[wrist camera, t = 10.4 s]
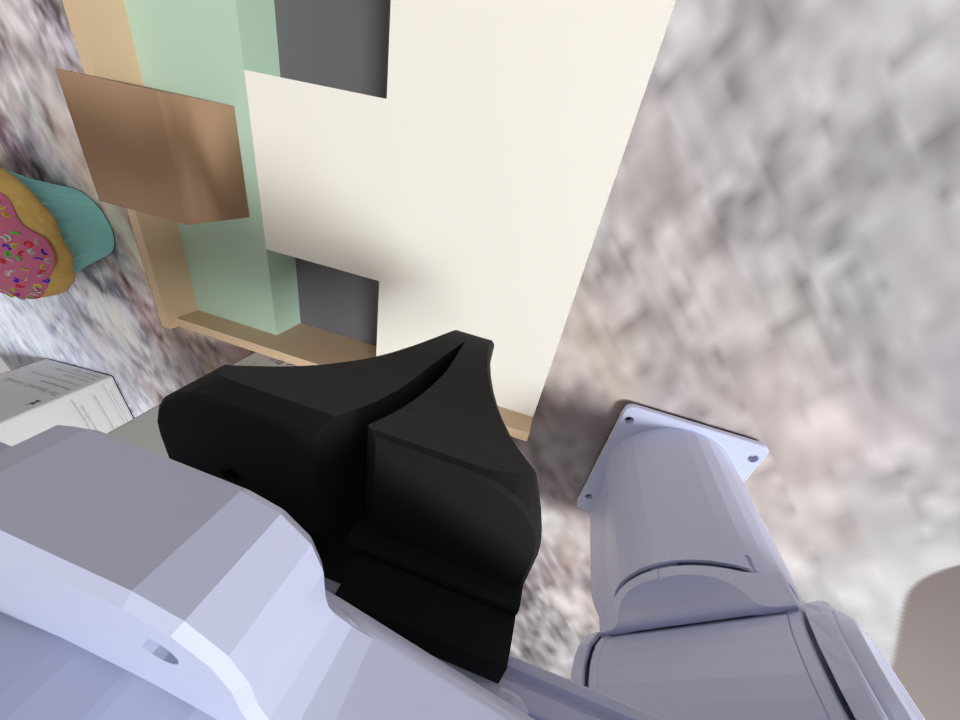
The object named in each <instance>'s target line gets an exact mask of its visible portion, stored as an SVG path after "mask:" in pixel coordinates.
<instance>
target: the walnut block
mask: <svg viewBox="0 0 960 720" xmlns="http://www.w3.org/2000/svg"><path fill="white" fill-rule="evenodd" d="M55 70H56V73H57V76H58V79H59V82H60V85H61V88H62V91H63V94H64V96H65V99H66V102H67V105H68V108H69V111H70V114H71V117H72V120H73V123H74V126H75V129H76V132H77V135H78V138H79V141H80V144H81V147H82V150H83V153H84V156H85V159H86V161H87V164H88V167H89V170H90V173H91V176H92V179H93V182H94V185H95V188H96V191H97V194H98V197H99V200H100V201H103V202H107V203H110V204H114V205H118V206H121V207H125V208H128V209H132V210H135V211H139V212H142V213H146V214H149V215H153V216H156V217H160V218H164V219H167V220H171V221H174V222H178V223H181V224H185V225H192V224H200V223H208V222H216V221H224V220H232V219H240V218H248V217H250V216H249V208H248V201H247V194H246V187H245V180H244V173H243V166H242V159H241V151H240V144H239V137H238V130H237V123H236V116H235V109H234V106H232V105H227V104H223V103H218V102H214V101H209V100H205V99H200V98H196V97H191V96H187V95H182V94H178V93H173V92H169V91H164V90H160V89H155V88H151V87H146V86H141V85H136V84H131V83H126V82H121V81H116V80H111V79H106V78H101V77H96V76H92V75H87V74H82V73H77V72H72V71H67V70H62V69H57V68H55Z"/></svg>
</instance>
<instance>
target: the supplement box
mask: <svg viewBox="0 0 960 720" xmlns="http://www.w3.org/2000/svg"><path fill="white" fill-rule="evenodd" d="M132 419H133V417H132V415H131V413H130V411H129V409H128V407H127V405H126V403H125V401H124V399H123V397H122V395H121V393H120V391H119V389H118V387H117V385H116V383H115V381H114V379H113V377H112V376H108V375H105V374H101V373H97V372H94V371H90V370H86V369H82V368H79V367H75V366H71V365H68V364H64V363H60V362H57V361H53V360H49V359H44V360H41V361H38V362H35V363H32V364H29V365H26V366H23V367H20V368H17V369H14V370H11V371H8V372H5V373H2V374H0V442H3V443H5V444H7V445H10V446H14V445H16V444H18V443H20V442H22V441H24V440H26V439H29V438H31V437H33V436H35V435H37V434H39V433H41V432H43V431H45V430H48V429H50V428H52V427H54V426H56V425H64V426H74V427H80V428H86V429H92V430H98V431H101V432H103V433H106V434H107V433H108V432H110V431H112V430H114V429H116V428H117V427H119V426H121V425H123V424H125V423H127V422H128V421H130V420H132Z"/></svg>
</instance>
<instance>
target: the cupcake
mask: <svg viewBox="0 0 960 720" xmlns="http://www.w3.org/2000/svg"><path fill="white" fill-rule="evenodd" d="M114 244H115V241H114V235H113V231H112V228H111V226H110V224H109V222H108V220H107V218H106V216H105V215H104V213H103V212H102V211H101V209H100V208H99V207H98V206H97V204H96V203H95V202H94V201H93V200H92V199H91V198H89V197H88V196H87V195H86V194H84V193H83V192H81V191H79V190H77V189H74V188H71V187H66V186H61V185H56V184H51V183H47V182H42V181H38V180H34V179H31V178H28V177H25V176H22V175H20V174H17V173H14V172H12V171H9V170H6V169H3V168H2V167H1V166H0V292H1V293H4V294H7V295H8V296H10V297H14V296H16V297H17V298H19V297H20V298H19V299H22V298H23V299H22V300H25V298H28V299H36V298H41V297H47V296H52V295H56V294H60V293H63V292H65V291H67V290H68V289H69V287H70V285H71V284H72V283H73V282H74V281H75V273H77V272H78V271H80V270H81V269H83V268H85V267H86V266H88V265H90V264H92V263H94V262H96V261H98V260H100V259H102V258H104V257H106V256H108V255H110V254H111V253H112V251H113V249H114Z"/></svg>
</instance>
